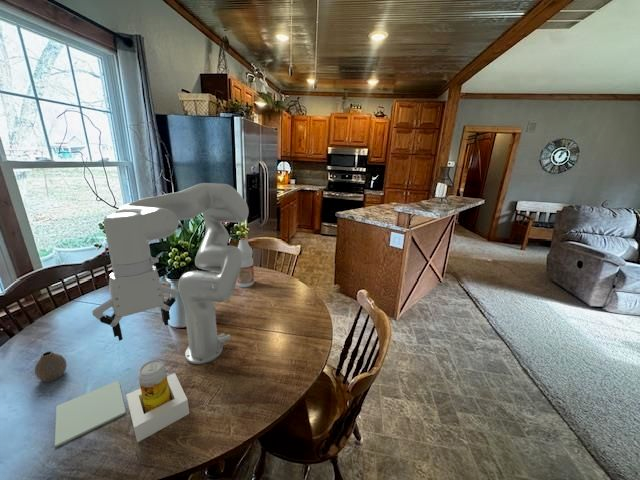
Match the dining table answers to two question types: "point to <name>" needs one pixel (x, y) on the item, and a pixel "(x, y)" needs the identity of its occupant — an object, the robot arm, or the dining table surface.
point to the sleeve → (157, 410)
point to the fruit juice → (246, 264)
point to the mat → (88, 412)
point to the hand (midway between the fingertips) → (143, 329)
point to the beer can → (154, 385)
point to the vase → (50, 367)
